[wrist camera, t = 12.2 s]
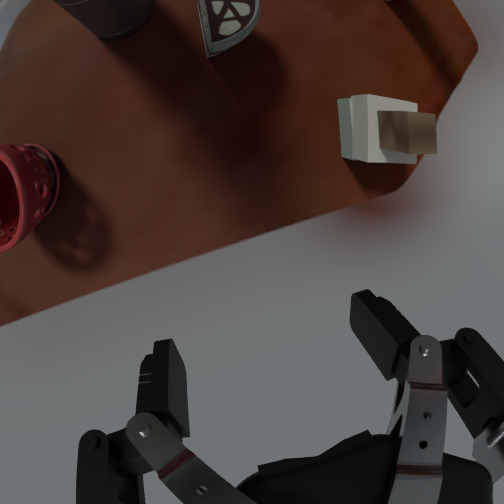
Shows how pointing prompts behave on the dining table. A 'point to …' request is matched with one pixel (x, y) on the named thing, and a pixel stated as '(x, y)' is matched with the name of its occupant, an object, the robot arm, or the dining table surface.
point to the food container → (226, 22)
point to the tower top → (375, 129)
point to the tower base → (345, 126)
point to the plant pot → (25, 190)
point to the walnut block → (407, 132)
